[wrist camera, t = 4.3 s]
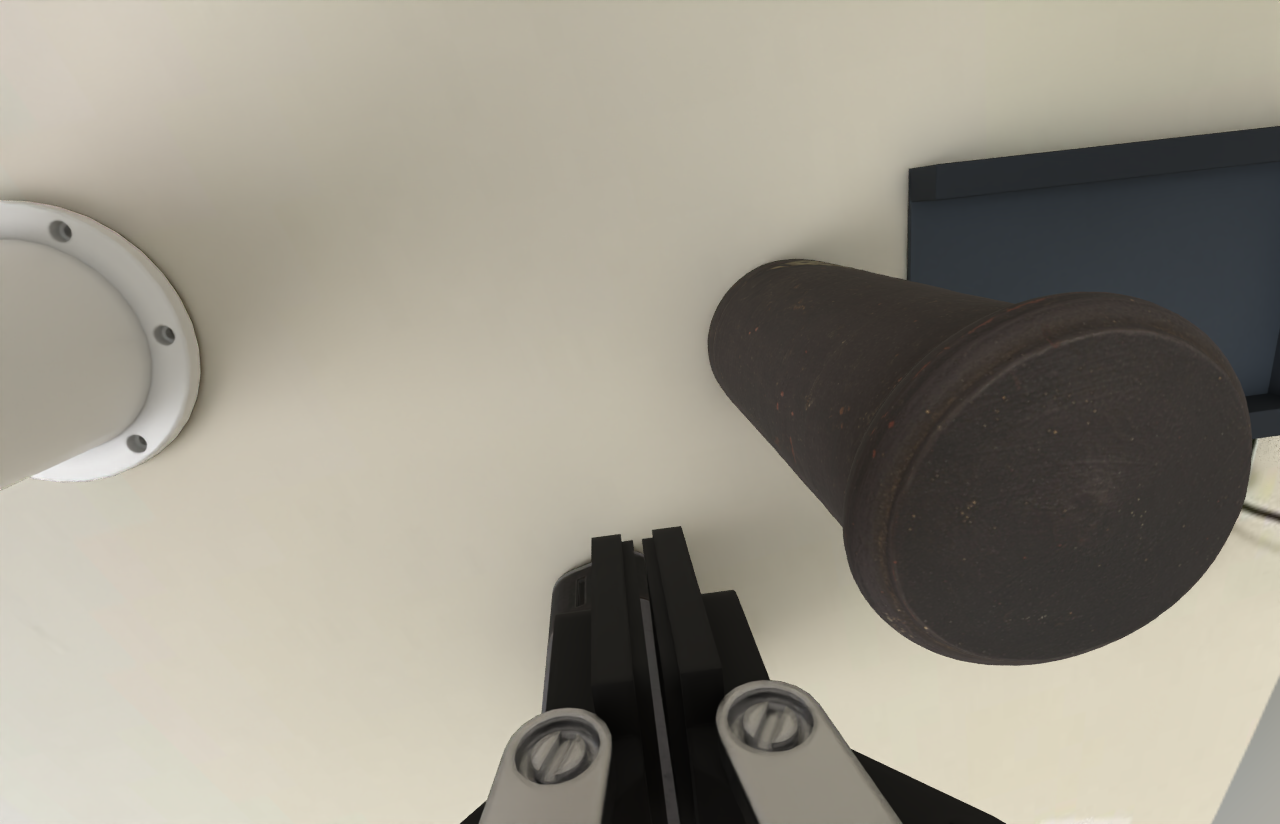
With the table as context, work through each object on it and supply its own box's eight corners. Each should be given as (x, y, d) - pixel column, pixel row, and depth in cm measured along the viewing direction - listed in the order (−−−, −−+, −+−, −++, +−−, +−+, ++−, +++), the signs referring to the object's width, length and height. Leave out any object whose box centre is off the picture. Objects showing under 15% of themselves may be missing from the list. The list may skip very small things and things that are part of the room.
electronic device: (702, 670, 37) (826, 1145, 18) (607, 706, 37) (630, 1216, 18) (644, 537, 34) (717, 932, 15) (542, 578, 35) (487, 1017, 15)
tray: (904, 464, 34) (928, 483, 32) (908, 168, 30) (936, 164, 28) (1282, 414, 35) (1333, 428, 33) (1340, 120, 31) (1403, 112, 29)
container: (883, 405, 33) (1283, 651, 14) (714, 439, 33) (888, 736, 14) (870, 235, 31) (1334, 257, 12) (687, 272, 31) (853, 355, 11)
